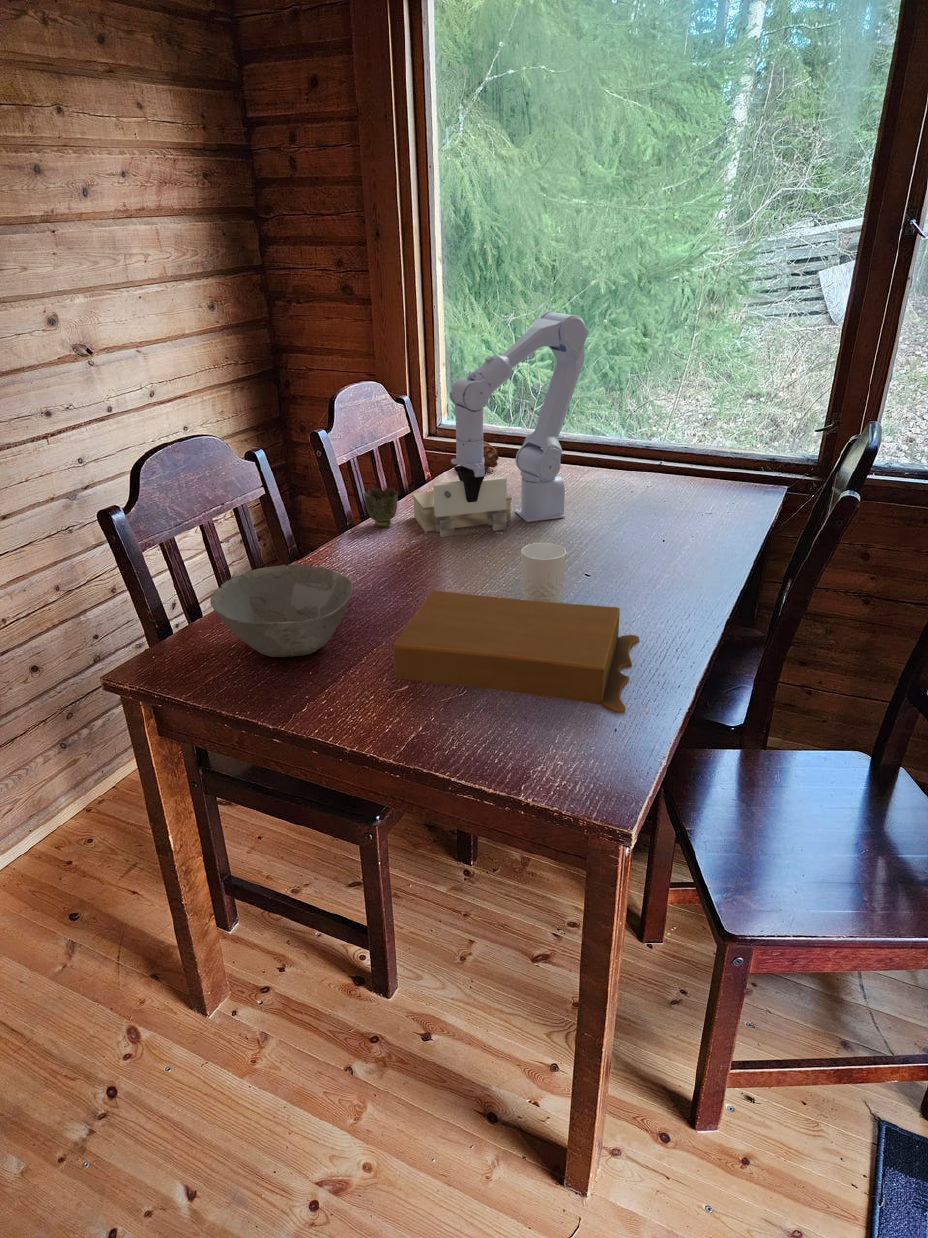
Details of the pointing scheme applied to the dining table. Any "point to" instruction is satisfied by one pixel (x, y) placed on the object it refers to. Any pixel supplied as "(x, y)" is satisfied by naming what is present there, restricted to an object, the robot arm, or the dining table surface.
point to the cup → (381, 505)
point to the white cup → (543, 571)
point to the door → (455, 503)
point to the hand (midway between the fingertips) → (470, 500)
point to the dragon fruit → (489, 456)
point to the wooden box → (517, 647)
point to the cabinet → (456, 516)
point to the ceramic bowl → (284, 607)
